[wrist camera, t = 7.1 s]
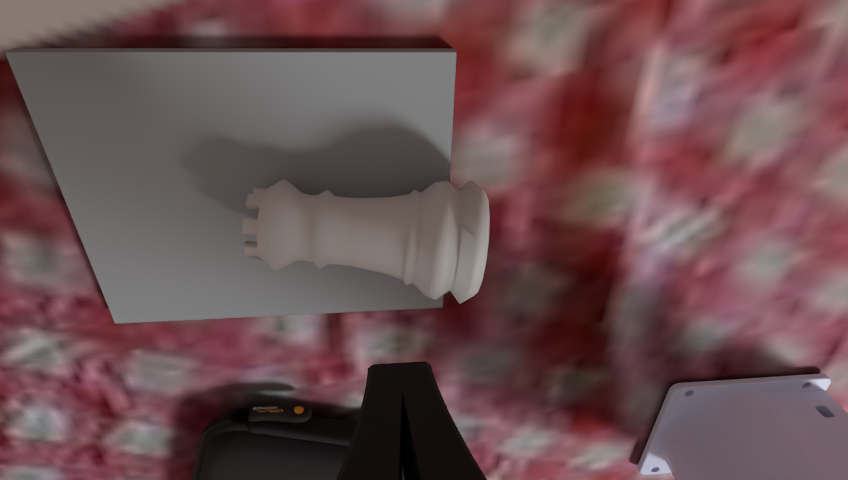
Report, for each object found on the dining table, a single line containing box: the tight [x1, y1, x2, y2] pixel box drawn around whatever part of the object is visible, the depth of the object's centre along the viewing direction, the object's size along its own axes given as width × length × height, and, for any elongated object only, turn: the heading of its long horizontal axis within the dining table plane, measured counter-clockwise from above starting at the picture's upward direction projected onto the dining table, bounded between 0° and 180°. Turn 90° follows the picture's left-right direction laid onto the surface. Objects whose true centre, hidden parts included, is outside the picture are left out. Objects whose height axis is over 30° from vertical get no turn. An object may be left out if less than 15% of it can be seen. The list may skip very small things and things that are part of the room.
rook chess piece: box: [242, 179, 490, 304], centre depth 18 cm, size 4×4×8 cm
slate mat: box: [5, 48, 456, 323], centre depth 19 cm, size 14×11×1 cm
